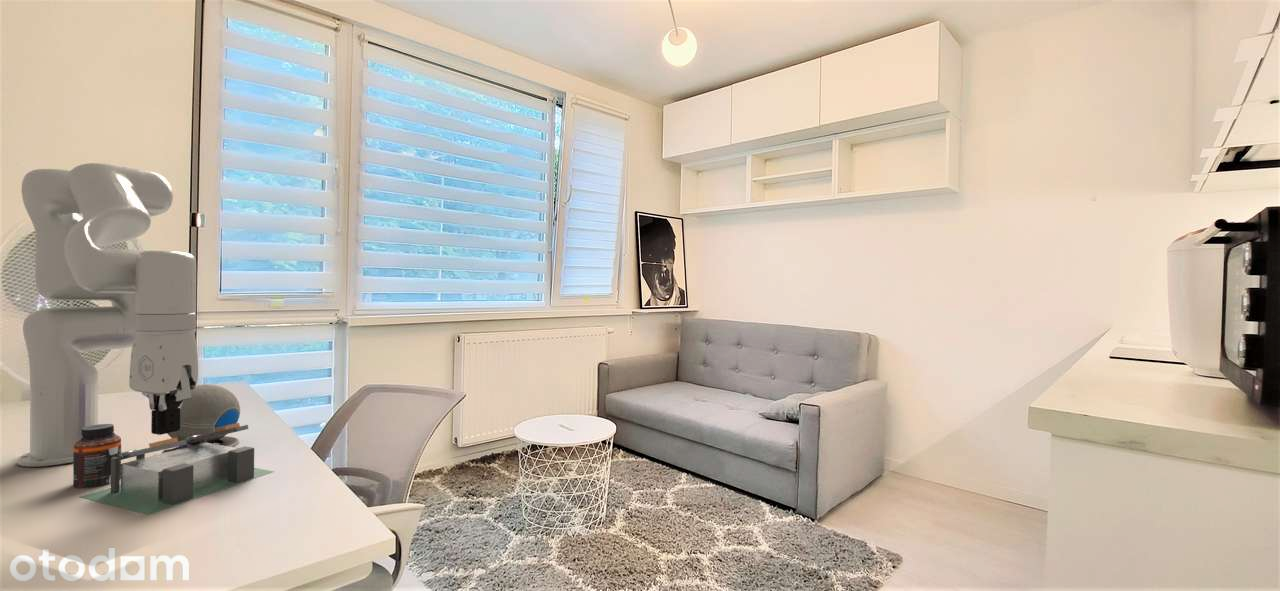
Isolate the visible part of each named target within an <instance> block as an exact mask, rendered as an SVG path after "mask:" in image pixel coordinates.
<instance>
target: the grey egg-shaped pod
mask: <svg viewBox="0 0 1280 591" xmlns="http://www.w3.org/2000/svg"><path fill="white" fill-rule="evenodd" d="M240 414H241V406H240V403H239V400H238V398H237V396H235V394H233V393H232V392H231V391H230V390H229V389H227V388H225V387H222V386H220V385H215V384H197V386H196V388H194V389H193V390H191V398H190V399H186V400H183V404H182V407H181V408H180V430H179V431H175V432H171V433H166V434H167V435H168V437H170V439H171V438H176V437H177V439H178V441H181V440H185V438H186V437H190V436H194V435H199V434H200V435H203V434H208V433H212V432H215V428H219V427H223V426H227V425H232V424H236V423H239V422H238V421H239V419H240ZM227 435H228V434H224V435H220V436H215V437H210V438H207V443H211V444H217V443H220V444H218V445H223V446H228V447H234V448H236V447H237V446H238V445H239V444H240V440H239V438H236V437H233V436H227ZM197 444H200V441H196V442H192V443H188V444H187V447H190V446H193V445H197ZM178 449H179V446H177V447H173V448H169V449H164V450H161V451H162V452H161V454H162V453H166V452H170V451H174V450H178Z"/></svg>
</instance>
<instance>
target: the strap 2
mask: <svg viewBox="0 0 1280 591" xmlns="http://www.w3.org/2000/svg"><path fill="white" fill-rule="evenodd" d="M246 430H249V425H248V424H245V425H240V422H237V423H236V424H232V425H227V426H223V427H219V428H215V432H212V433H208V434H203V435H200V434H199V435H194V436H190V437H186V438H185V440H186V441H187V444H188V443H192V442H196V441H200V440H201V439H206V438H210V437H215V436H220V435H224V434H227V435H228V434H233V433H237V432H241V431H246Z"/></svg>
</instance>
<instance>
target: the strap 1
mask: <svg viewBox="0 0 1280 591" xmlns="http://www.w3.org/2000/svg"><path fill="white" fill-rule="evenodd" d="M185 444H187V443H186V440H181V441H178V439H177V437H176V438H171V437H170V438H167V439H163V440H160V441H154V442H150V443H149V444H148V445H149V447H146V448H142V449H135V448H134V449H131V450H128V451H127V450H126V451H124V452H121V453H119V454H118V457H119V458H120V460H121V461H122V460H126V459H130V458H134V457H135V458H136V456H137V455H141V454H145V455H146V454H149V453H154V452H155V453H156V452H158V451H164V450H167V449H173V448H176V447H178V446H181V445H185Z"/></svg>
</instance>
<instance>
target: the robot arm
mask: <svg viewBox="0 0 1280 591" xmlns="http://www.w3.org/2000/svg"><path fill="white" fill-rule="evenodd" d="M21 197H22V202H23V205H24V208H25V210H26V213H27V215H28V217H29V218H30V222H31V223H32V226H33V228H34V232H35V253H34V254H35V259H34V260H35V261H34V264H35V265H34V266H35V267H34V268H35V269H34V271H35V273H34V274H35V277H34V278H35V280H34V281H35V287H36V290H37V292H38V294H39V295H40V297H43V298H45V299H46V300H47V299H48V300H52V301H68V302H69V301H79V302H81V301H85V302H86V301H109V302H111V305H112V306H58V307H49V308H48V307H47V308H42V309H38V310H36V311H33V312H31V313H30V314H29V315H27V316H26V317H25V319H24V321H23V324H22V332H23V338H24V342H25V346H26V350H27V355H28V365H29V452H28V453H24V454H23V455H21V456H19V457H18V458H17V465H19V466H21V467H28V468H29V467H31V468H34V467H35V468H36V467H49V466H58V465H59V466H60V465H65V464H70V463H73V452H74V451H73V448H74V444H75V443H76V442H77V441H78V440H80V439H82V437H83V436H82V435H81V434H82V428H84V427H88V426H92V425H99V373H98V370H97V368H96V366H95V365H94V364H93V363H92V362H90V361H89V360H88V359H87V358H85V357H84V356H83V355H82V354H81V353H86V352H91V351H95V352H96V351H105V350H118V349H120V350H121V349H128V348H131V352H130V353H131V354H130V363H129V379H128V380H129V382H128V383H129V388H130V389H131V390H132V391H134V392H137V393H141V395H143V396H144V397H146V398H148V403H149V404H148V405H149V410H151V416H150V417H151V419H150V420H151V424H150V425H151V426H150V427H151V428H150V430H151V431H150V432H151V434H152V435H158V436H160V435H165V434H167V433H171V432H175V431H179V430H180V408H181V407H182V404H183V400H186V399H190V398H191V390H193V389H194V388H196V386H197V385H199V358H198V357H199V356H198V344H197V340H196V334H195V333H197V260H196V258H195V256H194V255H193V254H191V253H189V252H184V251H175V250H174V251H173V250H145V249H144V250H143V249H127V248H114V247H111V248H110V247H108V246H112V245H116V244H120V243H125V242H129V241H133V240H134V239H137V238H139V237H141V236H143V235H144V234H145V233H146V232H147V231H148V230H149V229H150V226H151V223H152V222H151V221H152V220H151V218H152V217H156V216H159V215H162V214H164V213H166V212H167V211H168V210H169V209H170V207H171V206H172V204H173V199H174V193H173V189H172V186H171V184H170V183H169V181H168V180H167V179H166V177H164V176H163V175H161V174H159V173H156V172H155V171H150V170H144V169H137V168H131V167H126V166H119V165H115V164H107V163H98V162H96V163H94V162H91V163H89V162H88V163H82V164H80V165H77V166H75V167H74V168H72V169H71V170H68V169H60V168H59V169H58V168H37V169H33V170H30V171H28V172H27V173H26V174H25V175H24V176H23V179H22V182H21ZM81 215H82V217H81ZM106 247H108V248H106Z"/></svg>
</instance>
